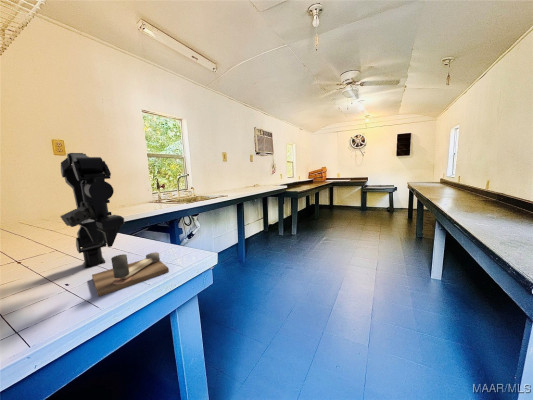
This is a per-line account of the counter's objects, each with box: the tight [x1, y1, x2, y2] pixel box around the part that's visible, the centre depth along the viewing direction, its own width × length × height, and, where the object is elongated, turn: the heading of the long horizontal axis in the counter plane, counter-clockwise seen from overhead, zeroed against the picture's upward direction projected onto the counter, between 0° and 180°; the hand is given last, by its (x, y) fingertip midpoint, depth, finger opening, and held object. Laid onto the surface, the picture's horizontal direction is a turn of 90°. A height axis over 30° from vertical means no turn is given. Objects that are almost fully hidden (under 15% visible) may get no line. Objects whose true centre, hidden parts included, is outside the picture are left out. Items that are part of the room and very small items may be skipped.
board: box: [91, 259, 170, 297], centre depth 75 cm, size 15×20×2 cm
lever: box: [110, 251, 161, 279], centre depth 75 cm, size 18×4×8 cm, turn 169°
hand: (102, 244), depth 71 cm, fingers open, 9 cm apart
